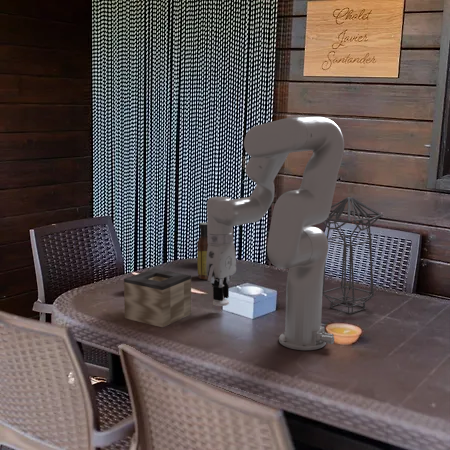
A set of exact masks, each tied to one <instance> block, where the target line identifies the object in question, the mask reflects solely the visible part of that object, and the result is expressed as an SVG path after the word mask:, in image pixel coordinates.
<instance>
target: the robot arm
mask: <svg viewBox="0 0 450 450" xmlns="http://www.w3.org/2000/svg"><path fill="white" fill-rule="evenodd" d="M344 139H345V138H344V136H343V132H342V131H341V128H340V127H339V126H338V125H337V123H335V122H334V121H333V120H331V119H330V118H327V117H324V116H301V117H299V116H295V117H294V116H293V117H286V118H281V119H278V120H274V121H273V120H272V121H270V122H265V123H262V124H257V125H255V126H253V127H251V128H250V129H249V130H248V131H247V132H246V134H245V137H244V139H243V147H244V150H245V152H246V153H247V155H248V156H250V158H249V160H248V161H247V164H246V166H245V174H246V175H247V177H248V178H249V180H251V181H252V182H254V183H255V184H256V185H255V188H254V189H253V191H252V192H251V194H250V196H248V197H239V198H234V199H231V197H228V196H213V197H209V198H208V200H207V201H206V218H207V219H206V220H207V221H206V222H207V235H208V244H209V245H208V248H207V259H206V271H207V276H208V280H207V282H208V283H210V284H211V287H212V293H213V294H212V295H213V296H212V297H213V301H214V300H220V301H222V300H223V296H224V298H225V299H228V298H229V295H230V294H229V293H230V292H229V291H230V290H229V285H230V281H231V277H232V276H233V275H234V274H235V273H236V272H237V258H236V256H237V255H236V249H235V241H234V242H233V229H234V228H233V227H237V226H242V225H247V224H251V223H257V222H258V221H260V220H261V219H263V217H264V216H265V215H266V214H267V212H268V211H269V209H270V207H271V206H272V204H273V201H274V197H275V191H276V189H275V183H274V180H275V178H276V177H277V175H278V173H279V171H280V170H281V168H282V167H283V165H284V163H285V161H286V159H287V158H288V156H289V155H290V154H291V153H298V152H299V153H300V152H309V151H312V155H311V157H310V158H309V160H308V161H307V163H306V164H305V168H304V171H303V173H302V178H301V179H302V180H301V184H300V187H299V188H298V189H294V190H288V191H285V192H284V193H282V194H281V195H279V197H278V198H277V200H276V201H275V204H274V205H273V206H274V207H273V209H272V210H273V211H272V214H271V220H270V221H271V222H270V227H269V231H268V237H267V243H266V245H267V246H266V250H267V252H266V253H267V258H268V259H269V261H270V263H271V264H272V265H273V266H274V267H275V268H277V269H281V270H286V269H288V272H287V277H286V290H285V291H286V293H285V294H286V296H285V319H284V321H285V323H284V324H285V325H284V332H282V333H280V335H279V337H278V340H279V341H278V342H279V343H280V345H282V346H284V347H286V348H288V349H292V350H297V351H316V350H319V349H321V348H324V347H325V346H326V345H327V344H330V345H333V344H334V342H335V337H334V333H328V332H326V331H325V326H323V325H322V314H323V313H322V309H323V295H322V292H323V275H324V267H325V268H326V266H325V262H326V263H327V259H328V258H327V256H328V253H329V242H328V241H329V240H327V234H325V232H324V231H323V230H322V229H320V228H319V227H316V226H314V225H320V224H321V223H322V222H326V221H325V220H328V219H327V218H329V214H330V213H331V209H332V208H331V206H333V200H334V195H335V190H336V185H337V179H338V175H339V170H340V168H341V164H342V161H343V156H344V151H345V140H344ZM322 224H323V223H322ZM223 278H224V280H223V285H224V287H222V279H223Z"/></svg>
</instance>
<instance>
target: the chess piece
mask: <svg viewBox="0 0 450 450" xmlns="http://www.w3.org/2000/svg"><path fill="white" fill-rule="evenodd" d="M223 280H224V278H223V279H222V287H224V285H223ZM212 305H214V306H217V307H225V306H228V305H230V301H229V300H228V299H227V298H224V296H223V300H222V301H220V300H214V299H213V301H212Z"/></svg>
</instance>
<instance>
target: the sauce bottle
mask: <svg viewBox="0 0 450 450" xmlns="http://www.w3.org/2000/svg"><path fill="white" fill-rule="evenodd" d="M198 227H199V238H198V240H197V242H196V247H197V248H196V249H197V250H196V253H197V254H196V255H197V256H196V257H197V258H196V259H197V261H196V262H197V275H198V276H197V277H198V279H200V280H204V281H205V280H206V281H208V276H207V271H206V259H207V248H208V245H209V244H208V235H207V221H205V222H200V223H199V226H198Z"/></svg>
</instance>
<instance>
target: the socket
mask: <svg viewBox="0 0 450 450" xmlns="http://www.w3.org/2000/svg"><path fill="white" fill-rule="evenodd" d="M123 293H124V302H123V303H124V319H127V320H131V321H135V322H139V323H143V324H147V325H150V326H151V325H152V326H155V327H160V328H164V327H166V326H168V325H169V326H170V325H171V324H173V323H176V322H177V321H180V320H182V319H183V318H185V317H187V316H190V315H192V275H190V274H185V273H180V272H174V271H170V270H165V269H164V270H163V269H158V268H151V269H149V270H146V271H143V272H139V273H137V274H134V275H132V276H127V277H125V278H123Z"/></svg>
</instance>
